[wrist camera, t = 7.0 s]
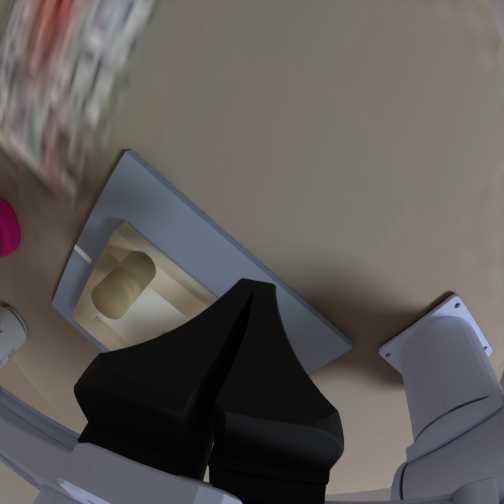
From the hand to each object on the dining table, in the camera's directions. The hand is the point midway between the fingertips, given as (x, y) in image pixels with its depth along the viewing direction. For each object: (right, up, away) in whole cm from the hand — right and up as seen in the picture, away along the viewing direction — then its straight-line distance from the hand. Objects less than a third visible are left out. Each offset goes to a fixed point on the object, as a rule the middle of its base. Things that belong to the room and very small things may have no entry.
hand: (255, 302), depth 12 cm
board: (-7, -4, +14) cm, 16 cm away
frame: (-7, -5, +13) cm, 16 cm away
